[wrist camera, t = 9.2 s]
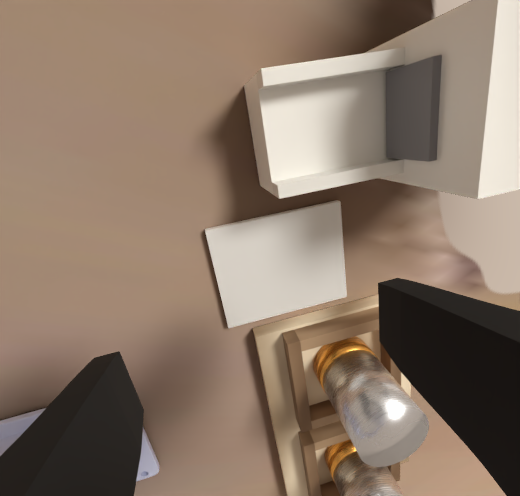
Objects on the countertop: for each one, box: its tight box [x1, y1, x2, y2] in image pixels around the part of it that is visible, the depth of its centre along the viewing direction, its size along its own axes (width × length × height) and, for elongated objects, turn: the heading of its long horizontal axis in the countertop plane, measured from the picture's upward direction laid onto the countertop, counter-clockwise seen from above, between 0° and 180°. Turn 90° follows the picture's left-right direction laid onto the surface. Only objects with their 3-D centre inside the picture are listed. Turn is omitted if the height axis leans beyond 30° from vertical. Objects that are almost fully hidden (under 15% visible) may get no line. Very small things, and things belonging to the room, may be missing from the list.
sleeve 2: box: [324, 439, 404, 496], centre depth 22 cm, size 4×4×6 cm
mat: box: [205, 200, 347, 328], centre depth 19 cm, size 8×6×1 cm
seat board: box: [253, 295, 411, 496], centre depth 23 cm, size 11×17×2 cm, turn 9°
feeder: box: [244, 0, 520, 199], centre depth 13 cm, size 11×6×8 cm, turn 99°
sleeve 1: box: [313, 336, 429, 467], centre depth 18 cm, size 4×4×6 cm
